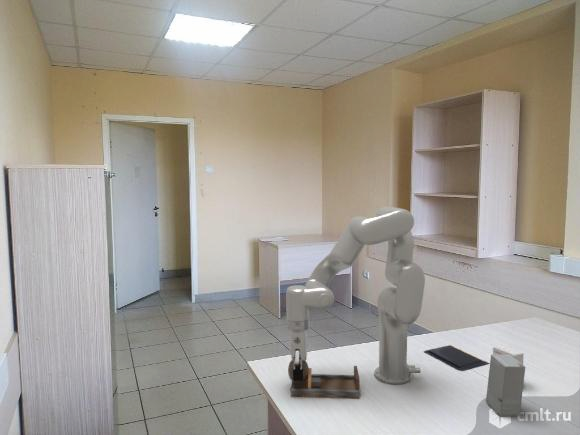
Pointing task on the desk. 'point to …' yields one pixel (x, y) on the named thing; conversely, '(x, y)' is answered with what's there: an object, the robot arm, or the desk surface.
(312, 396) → the tray
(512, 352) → the ink box
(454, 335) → the desk surface
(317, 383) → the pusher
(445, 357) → the wallet
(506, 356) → the skincare box
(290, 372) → the vase
